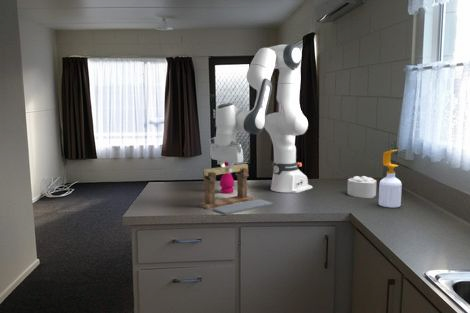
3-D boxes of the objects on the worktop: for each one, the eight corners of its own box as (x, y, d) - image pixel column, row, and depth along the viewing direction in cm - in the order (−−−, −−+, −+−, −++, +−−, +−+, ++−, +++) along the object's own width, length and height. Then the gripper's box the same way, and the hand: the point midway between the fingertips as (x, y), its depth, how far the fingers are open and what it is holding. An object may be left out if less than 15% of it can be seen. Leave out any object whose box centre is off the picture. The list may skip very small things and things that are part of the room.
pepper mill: (232, 194, 212) (232, 153, 209) (218, 193, 213) (217, 153, 211) (235, 190, 219) (235, 151, 216) (221, 190, 220) (221, 151, 218)
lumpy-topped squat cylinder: (372, 198, 202) (372, 180, 200) (344, 195, 208) (345, 177, 207) (377, 194, 211) (378, 176, 209) (350, 191, 217) (351, 174, 216)
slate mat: (259, 200, 198) (259, 199, 198) (272, 204, 191) (272, 202, 191) (212, 210, 183) (212, 208, 183) (225, 214, 176) (225, 212, 176)
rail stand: (243, 197, 205) (243, 166, 203) (252, 200, 200) (252, 167, 198) (198, 205, 190) (198, 172, 188) (207, 209, 185) (207, 174, 183)
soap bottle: (390, 208, 183) (392, 151, 180) (374, 204, 191) (376, 148, 188) (405, 206, 187) (408, 149, 184) (388, 201, 195) (391, 147, 192)
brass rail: (243, 168, 201) (243, 163, 201) (247, 169, 199) (247, 164, 198) (204, 175, 188) (204, 169, 187) (208, 176, 185) (208, 170, 185)
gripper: (246, 142, 185) (247, 173, 187) (218, 138, 201) (219, 167, 203) (234, 143, 181) (235, 175, 183) (207, 139, 197) (208, 169, 199)
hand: (226, 171), depth 193 cm, fingers closed on brass rail, 3 cm apart
